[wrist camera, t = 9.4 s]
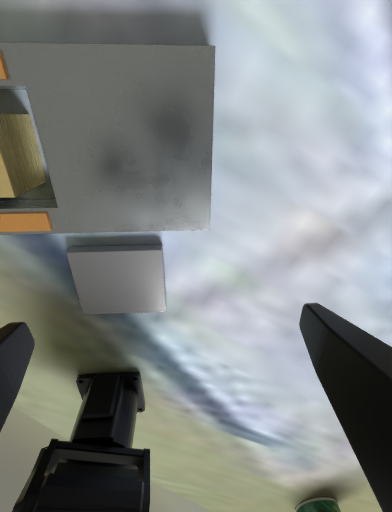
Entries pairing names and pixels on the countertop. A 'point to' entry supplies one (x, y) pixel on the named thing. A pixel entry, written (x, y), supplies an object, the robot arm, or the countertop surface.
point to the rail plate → (116, 136)
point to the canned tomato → (318, 505)
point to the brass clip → (18, 156)
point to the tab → (119, 278)
